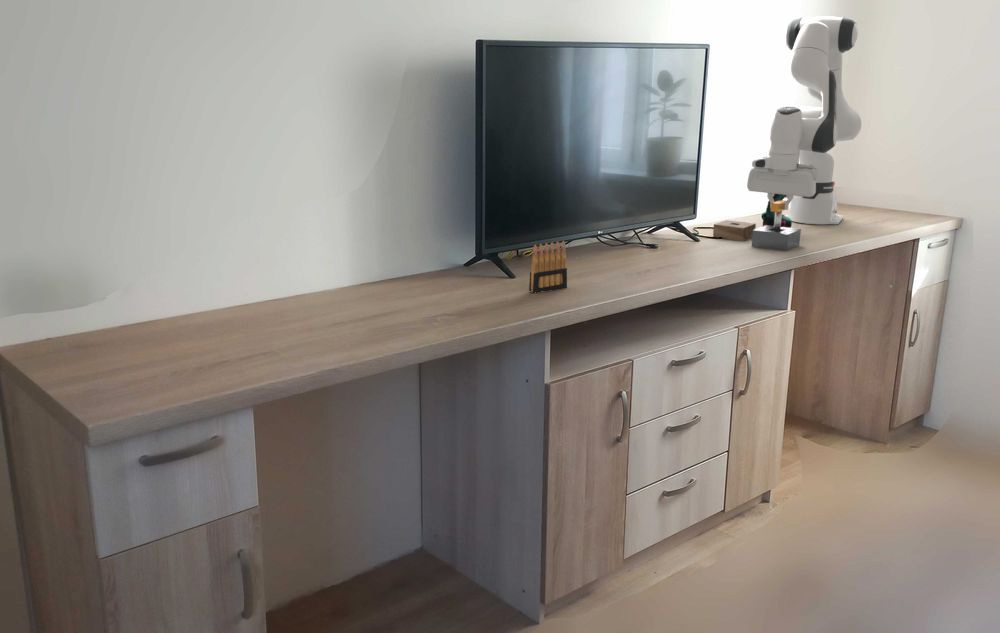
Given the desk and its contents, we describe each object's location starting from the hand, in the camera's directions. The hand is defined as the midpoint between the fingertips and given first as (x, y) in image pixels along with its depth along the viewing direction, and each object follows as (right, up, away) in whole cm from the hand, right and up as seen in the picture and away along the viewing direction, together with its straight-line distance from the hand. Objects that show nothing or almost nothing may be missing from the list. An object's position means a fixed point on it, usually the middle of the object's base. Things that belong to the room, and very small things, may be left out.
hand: (779, 208), depth 289 cm
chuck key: (0, -7, +2) cm, 7 cm away
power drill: (+8, -5, +24) cm, 26 cm away
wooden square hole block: (-9, -7, +17) cm, 21 cm away
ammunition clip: (-73, -26, -53) cm, 94 cm away
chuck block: (0, -11, +3) cm, 11 cm away
